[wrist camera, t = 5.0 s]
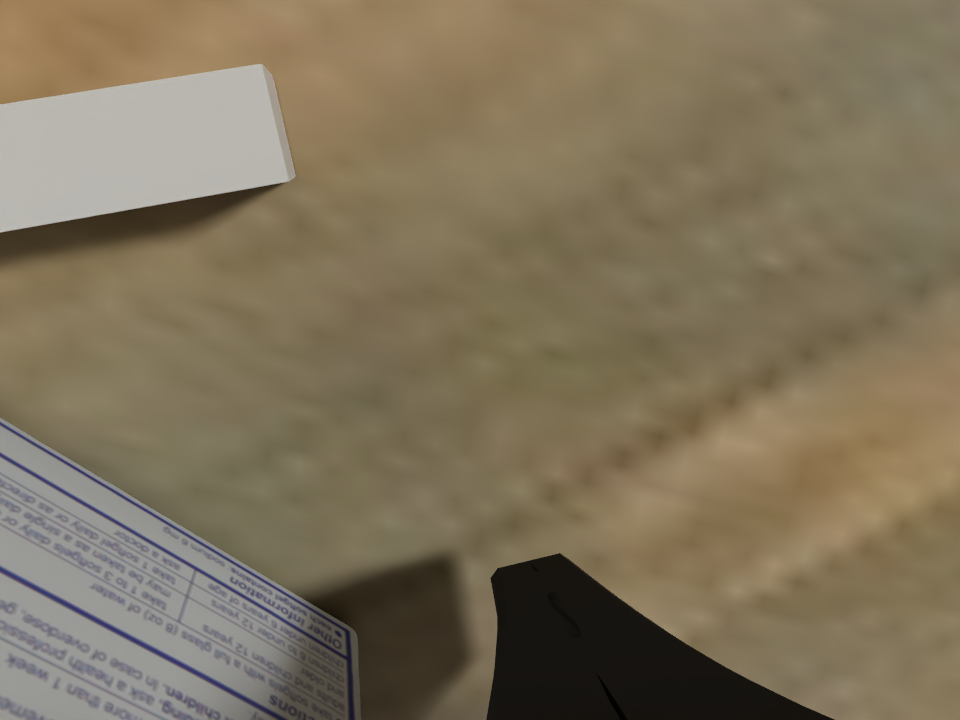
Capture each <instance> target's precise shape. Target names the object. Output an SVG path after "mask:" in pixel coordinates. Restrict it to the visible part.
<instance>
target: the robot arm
mask: <svg viewBox="0 0 960 720" xmlns="http://www.w3.org/2000/svg"><path fill="white" fill-rule="evenodd" d="M491 583H492V588H493V594H494V600H495V605H496V611H497V623H498V631H497V645H496V658H495V669H494V678H493V684H492V690H491V696H490V702H489V708H488V714H487V720H834V719H832V718H829V717H827V716H825V715H822V714H820V713H818V712H816V711H813V710H811V709H809V708H806V707H804V706H802V705H800V704H798V703H796V702H793V701H791V700H789V699H787V698H785V697H783V696H781V695H779V694H777V693H775V692H773V691H771V690H769V689H767V688H765V687H763V686H761V685H759V684H757V683H755V682H752V681H750V680H748V679H746V678H745V677H743V676H741V675H739V674H737V673H735V672H733V671H732V670H730V669H728V668H726V667H724V666H722V665H721V664H719V663H717V662H716V661H714V660H712V659H710V658H709V657H707V656H705V655H704V654H702V653H700V652H699V651H697V650H695V649H694V648H692V647H690V646H689V645H687V644H685V643H684V642H682V641H681V640H679V639H678V638H676V637H674V636H673V635H671V634H670V633H668V632H667V631H665V630H664V629H662V628H661V627H660V626H658V625H657V624H655V623H654V622H652V621H651V620H649V619H648V618H646V617H645V616H643V615H642V614H640V613H639V612H638V611H636V610H635V609H633V608H632V607H631V606H629V605H628V604H626V603H625V602H624V601H622V600H621V599H619V598H618V597H617V596H615V595H614V594H613V593H611V592H610V591H609V590H607V589H606V588H605V587H603V586H602V585H601V584H600V583H598V582H597V581H596V580H594V579H593V578H592V577H591V576H589V575H588V574H587V573H585V572H584V571H583V570H582V569H580V568H579V567H578V566H577V565H575V564H574V563H573V562H571V561H570V560H569V559H567V558H566V557H564V556H563V555H561V554H560V553H559V554H555V555H551V556H547V557H543V558H539V559H535V560H530V561H526V562H522V563H518V564H514V565H510V566H505V567H501V568H498V569H497V570H496V571H495V573H494V574H493V575H492V577H491Z"/></svg>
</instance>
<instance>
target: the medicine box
mask: <svg viewBox="0 0 960 720" xmlns="http://www.w3.org/2000/svg"><path fill="white" fill-rule="evenodd" d="M0 720H362V717H361V698H360V680H359V664H358V639H357V634H356V632H355V631H354V630H353V629H352V628H351V627H349V626H348V625H346V624H345V623H343V622H341V621H339V620H338V619H336V618H334V617H333V616H331V615H329V614H327V613H326V612H324V611H322V610H321V609H319V608H317V607H316V606H314V605H312V604H311V603H309V602H307V601H306V600H304V599H302V598H301V597H299V596H297V595H295V594H294V593H292V592H290V591H289V590H287V589H285V588H284V587H282V586H280V585H279V584H277V583H275V582H274V581H272V580H270V579H269V578H267V577H265V576H264V575H262V574H260V573H259V572H257V571H255V570H254V569H252V568H250V567H249V566H247V565H245V564H244V563H242V562H240V561H239V560H237V559H235V558H234V557H232V556H230V555H229V554H227V553H225V552H224V551H222V550H220V549H219V548H217V547H215V546H214V545H212V544H210V543H209V542H207V541H205V540H204V539H202V538H200V537H199V536H197V535H195V534H194V533H192V532H190V531H189V530H187V529H185V528H184V527H182V526H180V525H179V524H177V523H175V522H173V521H172V520H170V519H168V518H167V517H165V516H163V515H162V514H160V513H158V512H157V511H155V510H153V509H151V508H150V507H148V506H146V505H145V504H143V503H141V502H140V501H138V500H136V499H135V498H133V497H132V496H130V495H129V494H127V493H125V492H124V491H122V490H121V489H119V488H118V487H116V486H114V485H112V484H110V483H109V482H107V481H105V480H103V479H102V478H100V477H98V476H97V475H95V474H93V473H92V472H90V471H89V470H87V469H85V468H84V467H82V466H80V465H78V464H77V463H75V462H73V461H72V460H70V459H68V458H67V457H65V456H63V455H62V454H60V453H58V452H56V451H55V450H53V449H51V448H50V447H48V446H46V445H45V444H43V443H41V442H40V441H38V440H36V439H35V438H33V437H31V436H30V435H28V434H27V433H25V432H23V431H22V430H20V429H18V428H17V427H15V426H13V425H12V424H10V423H8V422H7V421H5V420H3V419H2V418H0Z"/></svg>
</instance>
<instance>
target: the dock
mask: <svg viewBox="0 0 960 720" xmlns="http://www.w3.org/2000/svg"><path fill="white" fill-rule="evenodd" d="M295 177H296V175H295V171H294V167H293V162H292V158H291V154H290V149H289V145H288V140H287V136H286V132H285V127H284V123H283V119H282V114H281V110H280V106H279V101H278V97H277V92H276V88H275V84H274V79H273V76H272V74H271V73H270V72H269V71H268V70H267V69H266V68H265V67H264V66H263V65H262V64H256V65H250V66H244V67H237V68H231V69H225V70H218V71H212V72H205V73H199V74H193V75H186V76H180V77H174V78H167V79H161V80H154V81H148V82H142V83H135V84H129V85H123V86H116V87H110V88H103V89H97V90H91V91H84V92H78V93H71V94H65V95H59V96H52V97H46V98H40V99H33V100H27V101H20V102H14V103H8V104H1V105H0V232H6V231H11V230H17V229H23V228H28V227H34V226H40V225H45V224H51V223H57V222H62V221H68V220H74V219H79V218H85V217H91V216H96V215H102V214H108V213H113V212H119V211H125V210H130V209H136V208H142V207H147V206H153V205H159V204H164V203H170V202H176V201H182V200H187V199H193V198H199V197H204V196H210V195H216V194H221V193H227V192H233V191H238V190H244V189H250V188H255V187H261V186H267V185H272V184H278V183H284V182H289V181H291V180H292V179H293V178H295Z"/></svg>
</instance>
